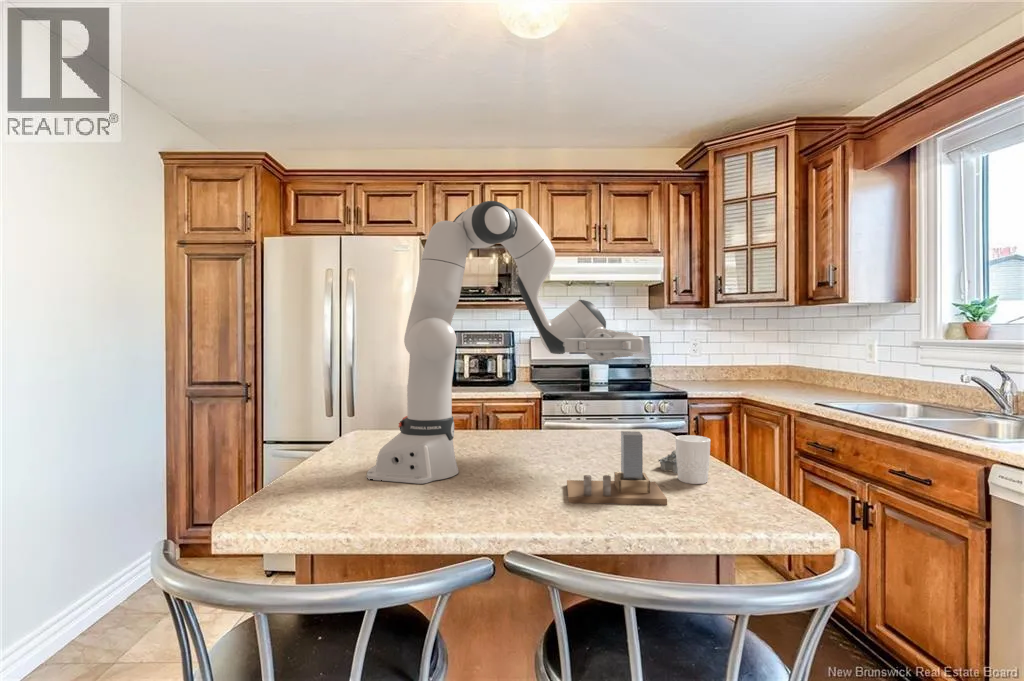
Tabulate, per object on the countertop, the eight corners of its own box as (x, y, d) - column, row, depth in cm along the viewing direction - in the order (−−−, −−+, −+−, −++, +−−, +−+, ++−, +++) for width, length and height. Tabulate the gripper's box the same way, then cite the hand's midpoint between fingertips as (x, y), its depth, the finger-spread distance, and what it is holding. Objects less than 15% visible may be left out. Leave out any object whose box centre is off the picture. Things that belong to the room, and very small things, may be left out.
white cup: (715, 485, 117) (715, 441, 117) (681, 485, 117) (681, 442, 117) (703, 475, 125) (703, 435, 124) (671, 475, 125) (671, 435, 125)
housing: (568, 502, 105) (568, 477, 105) (566, 485, 117) (566, 462, 117) (667, 504, 104) (667, 479, 103) (655, 486, 116) (655, 464, 115)
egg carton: (678, 463, 138) (678, 448, 138) (704, 468, 132) (704, 453, 132) (654, 469, 131) (654, 453, 131) (680, 475, 125) (680, 459, 125)
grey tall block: (623, 490, 109) (623, 434, 109) (621, 484, 113) (621, 431, 113) (642, 490, 109) (642, 435, 109) (639, 485, 113) (639, 431, 113)
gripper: (562, 333, 139) (563, 333, 126) (638, 332, 138) (647, 332, 124) (562, 356, 140) (563, 358, 126) (638, 355, 138) (647, 358, 124)
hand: (606, 345), depth 125 cm, fingers open, 8 cm apart
